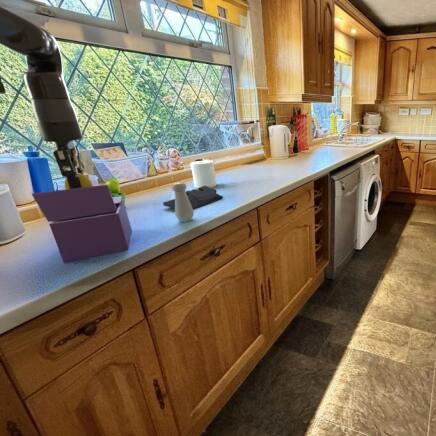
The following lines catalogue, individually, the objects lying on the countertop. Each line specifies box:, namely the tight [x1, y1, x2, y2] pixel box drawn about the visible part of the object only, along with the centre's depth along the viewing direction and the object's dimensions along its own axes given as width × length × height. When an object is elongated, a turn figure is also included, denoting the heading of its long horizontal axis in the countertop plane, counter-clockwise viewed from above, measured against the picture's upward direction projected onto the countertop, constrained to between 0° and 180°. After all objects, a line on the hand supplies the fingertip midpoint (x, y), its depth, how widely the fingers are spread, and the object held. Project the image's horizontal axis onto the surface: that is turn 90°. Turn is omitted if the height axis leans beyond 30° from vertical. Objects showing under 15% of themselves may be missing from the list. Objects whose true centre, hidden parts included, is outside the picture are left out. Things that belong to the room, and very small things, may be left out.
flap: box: [31, 184, 117, 223], centre depth 72 cm, size 8×14×1 cm
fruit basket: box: [104, 177, 126, 205], centre depth 120 cm, size 11×9×11 cm
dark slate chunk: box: [162, 186, 224, 210], centre depth 123 cm, size 15×22×5 cm
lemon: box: [64, 173, 94, 190], centre depth 77 cm, size 6×6×8 cm
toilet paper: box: [190, 160, 218, 189], centre depth 150 cm, size 10×10×12 cm
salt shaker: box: [171, 182, 195, 223], centre depth 101 cm, size 6×6×13 cm
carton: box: [48, 196, 132, 264], centre depth 84 cm, size 17×14×11 cm
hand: (79, 189), depth 77 cm, fingers closed on lemon, 5 cm apart
